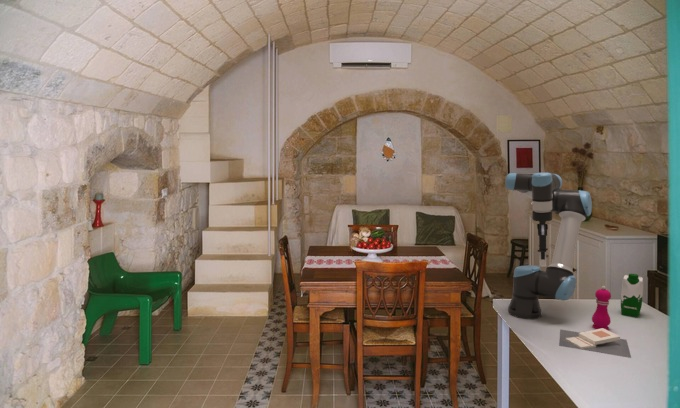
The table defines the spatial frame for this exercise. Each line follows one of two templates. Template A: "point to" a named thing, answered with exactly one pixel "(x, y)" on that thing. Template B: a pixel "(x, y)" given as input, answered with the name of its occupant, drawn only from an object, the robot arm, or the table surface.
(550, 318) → the table surface
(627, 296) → the milk carton
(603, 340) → the cream flat block
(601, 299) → the pepper mill
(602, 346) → the slate board
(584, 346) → the base
